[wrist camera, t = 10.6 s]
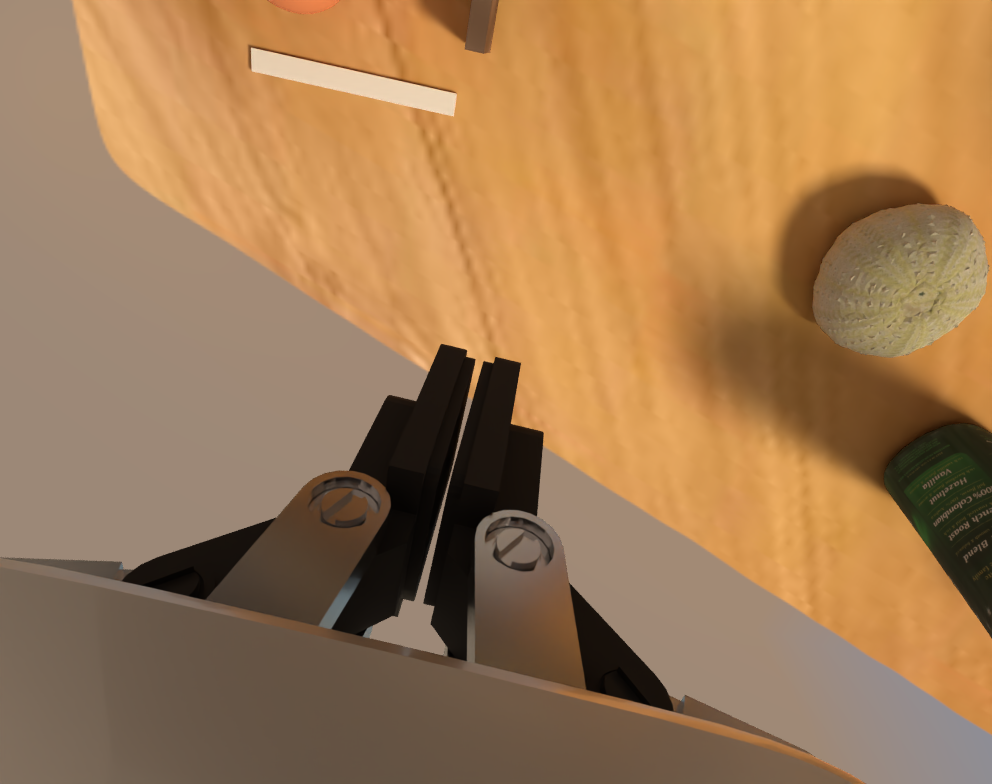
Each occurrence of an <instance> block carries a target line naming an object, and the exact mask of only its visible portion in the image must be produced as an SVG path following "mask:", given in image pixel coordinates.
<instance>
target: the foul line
mask: <svg viewBox="0 0 992 784" xmlns="http://www.w3.org/2000/svg"><path fill="white" fill-rule="evenodd" d="M251 63H252V71H253V72H258V73H262V74H267V75H271V76H276V77H280V78H285V79H289V80H294V81H298V82H302V83H307V84H311V85H316V86H320V87H325V88H329V89H334V90H338V91H343V92H347V93H351V94H356V95H360V96H365V97H369V98H374V99H378V100H383V101H387V102H392V103H396V104H401V105H405V106H409V107H414V108H418V109H423V110H427V111H432V112H436V113H441V114H445V115H450V116H454V111H455V104H456V97H457V93H452V92H448V91H443V90H439V89H434V88H430V87H425V86H421V85H417V84H412V83H408V82H403V81H399V80H394V79H390V78H385V77H381V76H377V75H372V74H368V73H363V72H359V71H354V70H350V69H345V68H341V67H336V66H332V65H328V64H323V63H319V62H314V61H310V60H305V59H301V58H296V57H292V56H288V55H283V54H279V53H274V52H270V51H265V50H261V49H256V48H251Z"/></svg>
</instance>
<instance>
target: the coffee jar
mask: <svg viewBox="0 0 992 784" xmlns="http://www.w3.org/2000/svg"><path fill="white" fill-rule="evenodd" d="M884 484H885V486H886V489H887V490H888V492H889V493H890V495H891V496H892V497H893V499H894V500H895V502H896V503H897V505H898V506H899V507H900V509H901V510H902V512H903V513H904V514H905V516H906V517H907V519H908V520H909V521H910V523H911V524H912V526H913V527H914V528H915V530H916V531H917V532H918V534H919V535H920V537H921V538H922V539H923V541H924V542H925V544H926V545H927V546H928V548H929V549H930V551H931V552H932V554H933V555H934V556H935V558H936V559H937V561H938V562H939V564H940V565H941V566H942V568H943V569H944V571H945V572H946V574H947V575H948V576H949V578H950V579H951V580H952V582H953V584H954V585H955V586H956V588H957V589H958V590H959V592H960V593H961V595H962V596H963V598H964V599H965V600H966V602H967V603H968V605H969V606H970V608H971V609H972V611H973V612H974V613H975V615H976V616H977V618H978V619H979V620H980V622H981V623H982V625H983V626H984V628H985V629H986V630H987V632H988V633H989V635H990V636H991V638H992V433H990V432H988V431H986V430H985V429H983V428H981V427H978V426H976V425H972V424H966V423H960V424H952V425H947V426H944V427H941V428H938V429H936V430H934V431H932V432H929V433H926V434H925V435H923V436H921V437H919V438H918V439H916V440H914V441H913V442H911V443H910V444H909V445H908V446H906V447H905V448H903V449H902V450H901V451H900V452H899V453H898V454H897V455H896V456H895V457H894V458H893V459H892V460H891V462H890V463H889V464H888V466H887V468H886V470H885V472H884Z"/></svg>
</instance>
